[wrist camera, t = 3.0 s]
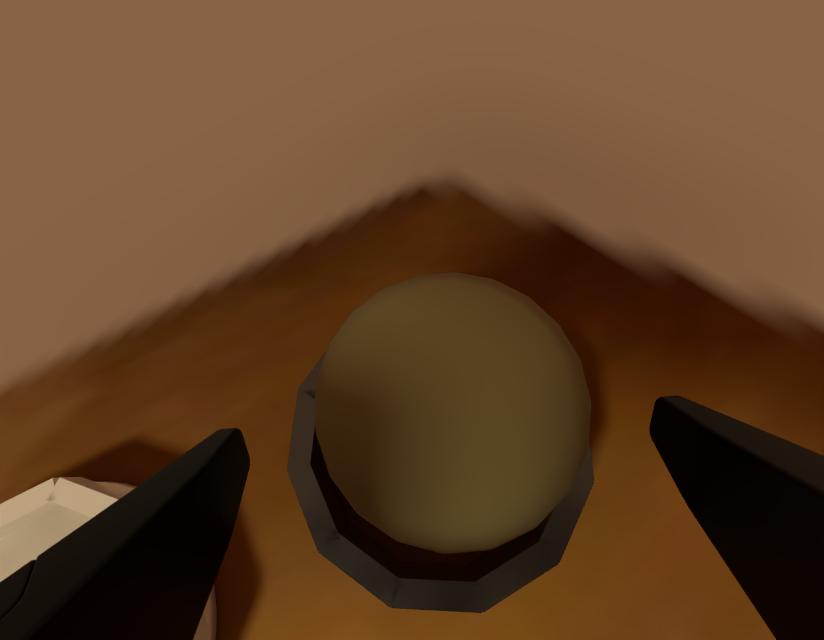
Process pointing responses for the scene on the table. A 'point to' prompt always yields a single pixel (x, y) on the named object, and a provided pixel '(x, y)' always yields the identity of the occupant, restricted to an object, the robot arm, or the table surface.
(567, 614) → the table surface
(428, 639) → the table surface
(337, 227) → the table surface
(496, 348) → the cork
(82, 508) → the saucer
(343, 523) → the dark grey ring
